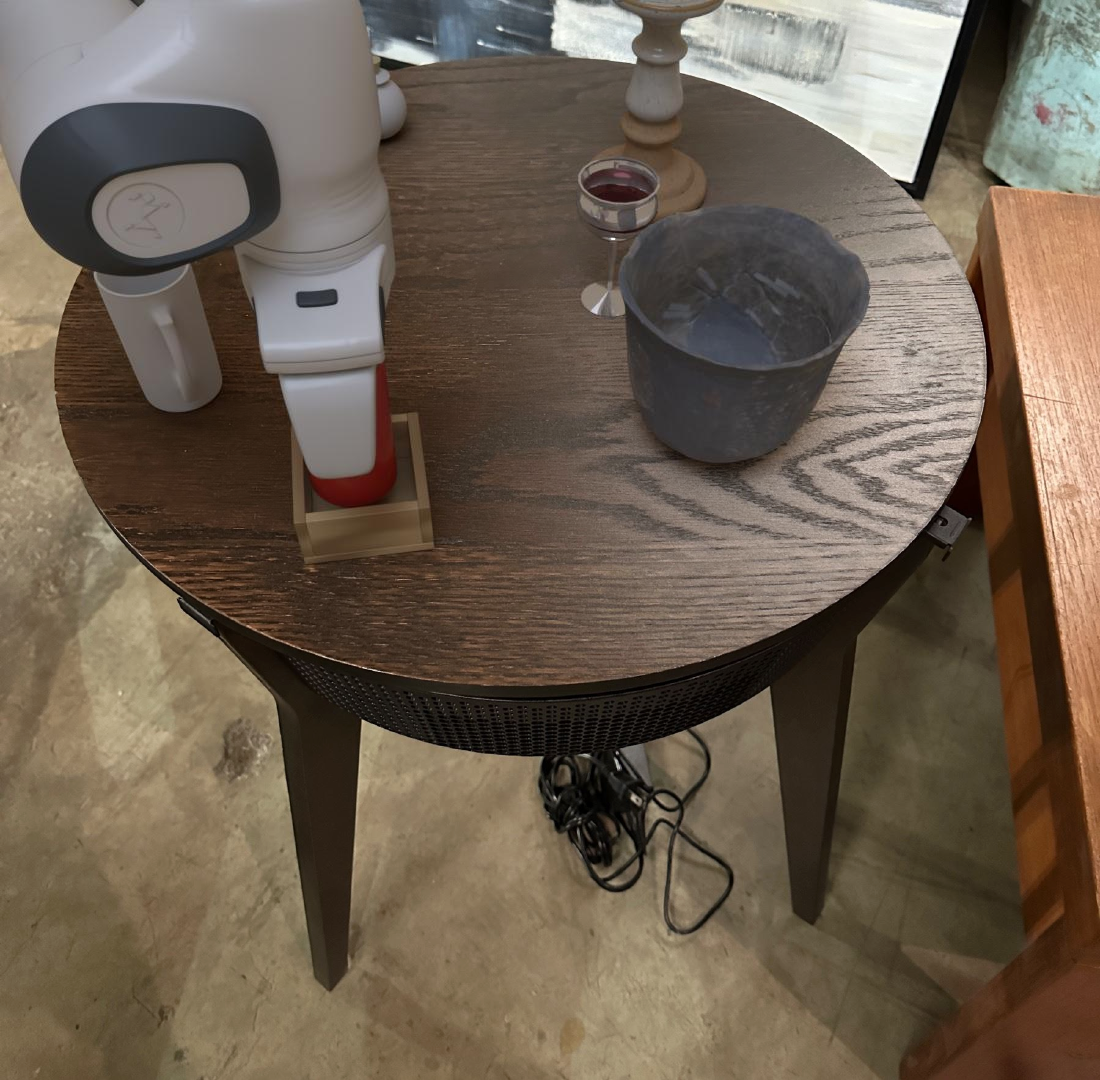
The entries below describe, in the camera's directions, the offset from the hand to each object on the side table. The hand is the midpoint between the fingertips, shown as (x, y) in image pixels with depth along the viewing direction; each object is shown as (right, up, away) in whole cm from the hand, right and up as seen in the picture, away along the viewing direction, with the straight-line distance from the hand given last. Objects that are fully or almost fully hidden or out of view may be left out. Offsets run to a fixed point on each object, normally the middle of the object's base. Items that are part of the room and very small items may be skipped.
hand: (345, 418), depth 69 cm
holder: (0, -6, +7) cm, 10 cm away
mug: (-15, +3, +14) cm, 21 cm away
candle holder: (+23, +27, +33) cm, 49 cm away
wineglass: (+19, +13, +23) cm, 33 cm away
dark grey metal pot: (+27, +1, +13) cm, 30 cm away
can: (0, -3, +4) cm, 6 cm away
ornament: (-5, +34, +38) cm, 51 cm away
